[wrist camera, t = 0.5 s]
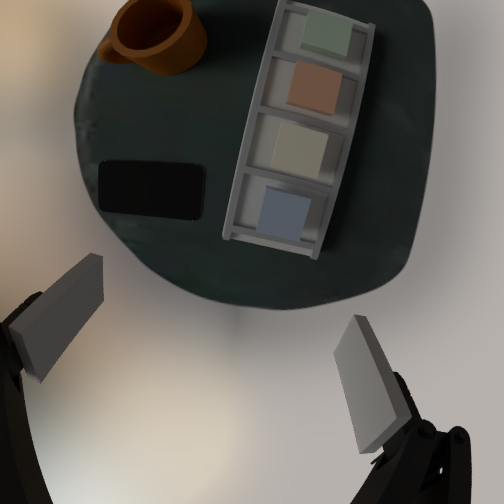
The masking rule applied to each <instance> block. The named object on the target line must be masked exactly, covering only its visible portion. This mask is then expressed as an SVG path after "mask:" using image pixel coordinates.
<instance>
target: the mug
mask: <svg viewBox="0 0 504 504" xmlns="http://www.w3.org/2000/svg"><path fill="white" fill-rule="evenodd" d="M207 42H208V40H207V33H206V31H205V29H204V27H203V25H202V23H201V21H200V19H199V17H198V15H197V13H196V11H195V9H194V8H193V6H192V4H191V2H190V1H189V0H129V1H128V2H127V3H126V4H125V5H124V6H123V7H122V8H121V9H120V10H119V11H118V13H117V14H116V16H115V18H114V19H113V21H112V24H111V28H110V36H109V37H107V38H106V39H104V40H103V41H102V42H101V43H100V44H99V46H98V49H97V54H98V56H99V57H100V59H101V60H103V61H105V62H108V63H112V64H127V63H133V62H135V63H137V64H139V65H141V66H143V67H144V68H146V69H148V70H149V71H151V72H153V73H156V74H159V75H174V74H178V73H182V72H184V71H185V70H187V69H189V68H191V67H192V66H193V65H195V64H196V63H197V62H198V61H199V60H200V59H201V57H202V55H203V54H204V52H205V50H206V46H207ZM114 49H115V50H116V51H114Z"/></svg>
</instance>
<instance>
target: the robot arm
mask: <svg viewBox="0 0 504 504" xmlns="http://www.w3.org/2000/svg"><path fill="white" fill-rule="evenodd" d="M103 301H104V293H103V256H100V255H96V254H93V253H90V254H89V255H87V256H86V257H85V258H84V259H82V260H81V261H80V262H79V263H78V264H76V265H75V266H74V267H73V268H71V269H70V270H69V271H68V272H67V273H66V274H64V275H63V276H62V277H61V278H60V279H59V280H57V281H56V282H55V283H54V284H53V285H52V286H51V287H49V288H48V289H47V290H46V291H45V292H44V293H42V292H40V291H39V292H37V293H35V294H33V295H31V296H29V298H27V299H26V300H25V301H24V303H22V304H21V305H19V307H18V308H16V309H15V310H14V311H13V312H12V313H11V314H10V315H9V316H8V317H7V318H6V319H5V320H4V321H3V322H2V323H0V504H53V502H52V500H51V497H50V495H49V492H48V489H47V487H46V484H45V481H44V478H43V475H42V472H41V469H40V466H39V463H38V460H37V456H36V452H35V449H34V445H33V441H32V437H31V432H30V428H29V423H28V417H27V412H26V406H25V400H24V392H23V384H22V377H21V373H20V371H21V370H22V369H23V367H24V369H25V371H26V374H27V376H28V377H30V378H31V379H33V380H35V381H37V382H38V383H40V384H41V382H42V381H43V380H44V378H45V377H46V375H47V374H48V373H49V371H50V370H51V368H52V367H53V365H54V364H55V363H56V361H57V360H58V359H59V357H60V356H61V355H62V353H63V352H64V351H65V349H66V348H67V346H68V345H69V344H70V343H71V341H72V340H73V339H74V337H75V336H76V335H77V333H78V332H79V331H80V330H81V328H82V327H83V326H84V325H85V323H86V322H87V321H88V319H89V318H90V317H91V316H92V315H93V313H94V312H95V311H96V310H97V308H98V307H99V306H100V305H101V304H102V302H103ZM334 356H335V360H336V363H337V367H338V370H339V374H340V378H341V382H342V385H343V389H344V393H345V397H346V400H347V404H348V408H349V412H350V416H351V420H352V424H353V428H354V432H355V437H356V441H357V445H358V449H359V453H360V454H364V453H374V452H376V451H377V450H378V449H379V448H380V447H381V446H383V450H384V452H383V453H382V454H381V455H379V456H378V457H377V458H376V459H374V460H373V461H372V462H371V464H374V463H375V462H376V461H377V462H376V464H375V465H374V467H373V469H372V471H371V472H370V474H369V475H368V477H367V479H366V481H365V482H364V484H363V485H362V487H361V488H360V490H359V492H358V493H357V494H356V496H355V497H354V499H353V500H352V502H351V503H350V504H471V487H472V486H471V485H472V466H471V465H472V463H471V443H470V437H469V434H468V432H467V431H466V430H465V429H464V428H462V427H460V426H455V427H453V428H452V429H451V430H450V431H449V432H448V433H446V432H441V431H437V430H436V428H435V426H434V425H433V424H432V423H431V422H429V421H427V420H425V419H423V420H422V419H421V416H420V414H419V412H418V409H417V407H416V405H415V403H414V401H413V398H412V396H410V395H411V394H410V392H409V390H408V389H407V388H408V387H407V385H406V383H405V381H404V379H403V378H402V377H401V376H400V375H399V373H398V372H393V371H392V369H391V367H390V365H389V363H388V361H387V358H386V356H385V354H384V352H383V350H382V348H381V346H380V344H379V342H378V340H377V338H376V336H375V334H374V332H373V330H372V328H371V326H370V324H369V322H368V320H367V318H366V316H360V315H353V317H352V319H351V321H350V323H349V325H348V327H347V329H346V331H345V332H344V335H343V336H342V339H341V340H340V342H339V344H338V346H337V348H336V350H335V351H334ZM441 468H442V473H441V474H440V469H441Z"/></svg>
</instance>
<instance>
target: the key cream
mask: <svg viewBox="0 0 504 504" xmlns="http://www.w3.org/2000/svg"><path fill="white" fill-rule="evenodd" d="M327 139H328V134H325V133H322V132H318V131H315V130H311V129H308V128H304V127H300V126H297V125H293V124H289V123H285V122H282V123H281V125H280V129H279V133H278V137H277V141H276V145H275V149H274V153H273V158H272V162H271V167H272V168H276V169H280V170H284V171H288V172H292V173H296V174H300V175H304V176H307V177H311V178H315V179H317V178H318V174H319V170H320V166H321V163H322V159H323V155H324V151H325V147H326V143H327Z"/></svg>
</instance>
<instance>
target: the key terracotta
mask: <svg viewBox="0 0 504 504" xmlns="http://www.w3.org/2000/svg"><path fill="white" fill-rule="evenodd" d="M342 75H343V74H342V73H339V72H336V71H333V70H330V69H327V68H324V67H320V66H317V65H314V64H310V63H307V62H303V61H299V60H297V62H296V64H295V67H294V71H293V75H292V79H291V83H290V88H289V92H288V96H287V100H286V104H287V105H291V106H295V107H299V108H302V109H306V110H309V111H313V112H316V113H320V114H323V115H326V116H331V115H334V110H335V106H336V102H337V98H338V93H339V89H340V84H341V80H342Z"/></svg>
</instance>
